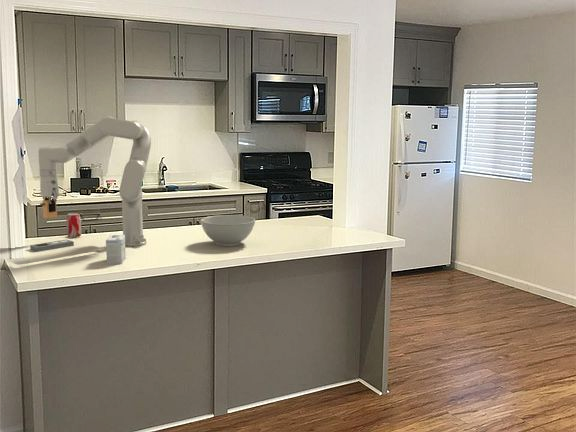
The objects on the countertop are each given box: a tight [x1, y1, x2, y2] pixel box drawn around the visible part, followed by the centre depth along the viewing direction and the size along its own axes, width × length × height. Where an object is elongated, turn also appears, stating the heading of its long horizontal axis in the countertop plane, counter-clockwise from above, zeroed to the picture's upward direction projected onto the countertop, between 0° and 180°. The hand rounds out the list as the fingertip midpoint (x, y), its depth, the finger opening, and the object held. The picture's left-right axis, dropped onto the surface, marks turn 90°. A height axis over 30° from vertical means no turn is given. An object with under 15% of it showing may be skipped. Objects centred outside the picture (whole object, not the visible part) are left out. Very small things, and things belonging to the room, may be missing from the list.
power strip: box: [29, 239, 75, 253], centre depth 305 cm, size 7×18×4 cm, turn 136°
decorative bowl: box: [200, 214, 256, 247], centre depth 320 cm, size 27×27×12 cm
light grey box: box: [105, 234, 127, 265], centre depth 285 cm, size 11×7×11 cm, turn 5°
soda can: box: [65, 212, 82, 239], centre depth 335 cm, size 7×7×12 cm
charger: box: [39, 200, 58, 219], centre depth 311 cm, size 4×7×8 cm, turn 136°
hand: (50, 210), depth 312 cm, fingers closed on charger, 4 cm apart
